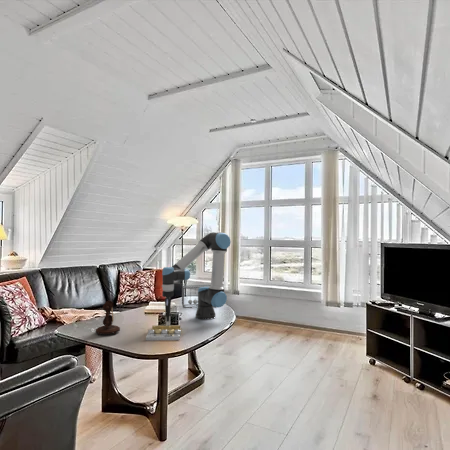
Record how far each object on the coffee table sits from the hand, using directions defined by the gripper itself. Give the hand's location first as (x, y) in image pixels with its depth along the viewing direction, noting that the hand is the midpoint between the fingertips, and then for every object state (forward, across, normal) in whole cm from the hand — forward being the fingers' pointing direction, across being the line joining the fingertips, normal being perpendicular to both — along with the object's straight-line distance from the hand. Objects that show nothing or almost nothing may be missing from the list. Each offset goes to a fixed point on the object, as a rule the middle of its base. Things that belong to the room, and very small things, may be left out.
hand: (167, 325), depth 236 cm
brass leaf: (+2, +11, 0) cm, 11 cm away
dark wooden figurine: (+2, +8, -37) cm, 38 cm away
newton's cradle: (+3, -70, +20) cm, 73 cm away
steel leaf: (+2, +18, -1) cm, 19 cm away
